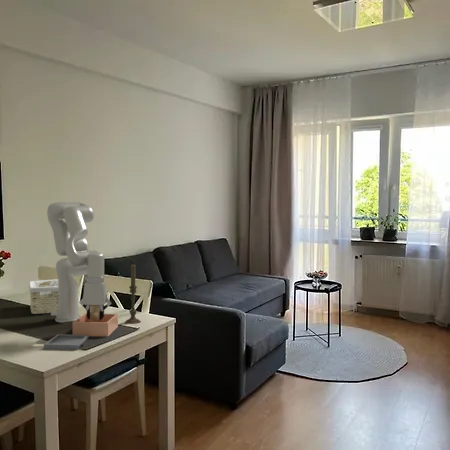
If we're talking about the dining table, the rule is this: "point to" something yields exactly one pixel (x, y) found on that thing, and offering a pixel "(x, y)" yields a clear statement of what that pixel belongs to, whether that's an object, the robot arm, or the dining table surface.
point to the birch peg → (95, 313)
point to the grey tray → (66, 342)
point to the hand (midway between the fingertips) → (95, 318)
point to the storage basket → (44, 296)
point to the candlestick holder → (133, 298)
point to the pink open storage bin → (95, 325)
